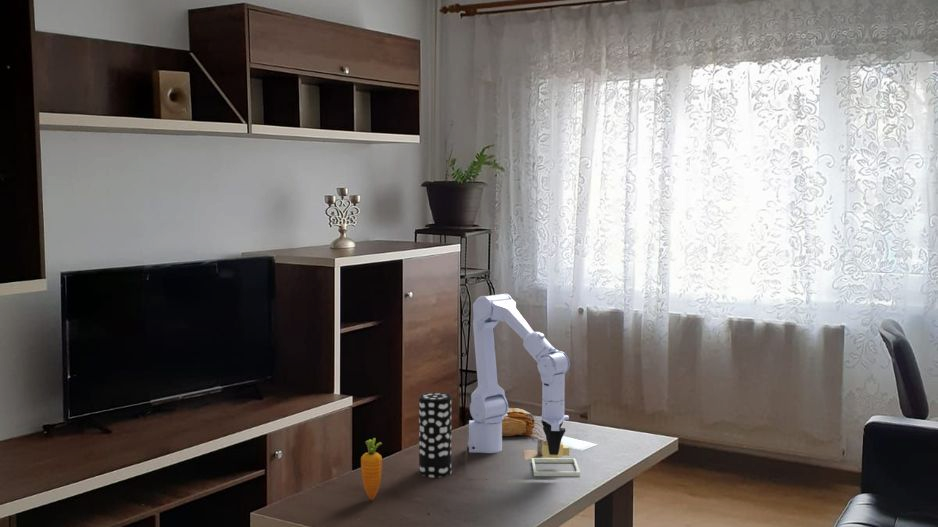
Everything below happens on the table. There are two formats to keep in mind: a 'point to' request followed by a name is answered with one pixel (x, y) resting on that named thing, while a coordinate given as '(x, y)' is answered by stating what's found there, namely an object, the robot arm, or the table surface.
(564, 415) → the robot arm
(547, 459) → the tray
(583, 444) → the hard drive
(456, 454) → the table surface
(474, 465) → the table surface
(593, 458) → the table surface
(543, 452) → the ring
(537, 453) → the tan square peg base
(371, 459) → the carrot
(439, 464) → the spotted tube
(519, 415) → the nautilus
